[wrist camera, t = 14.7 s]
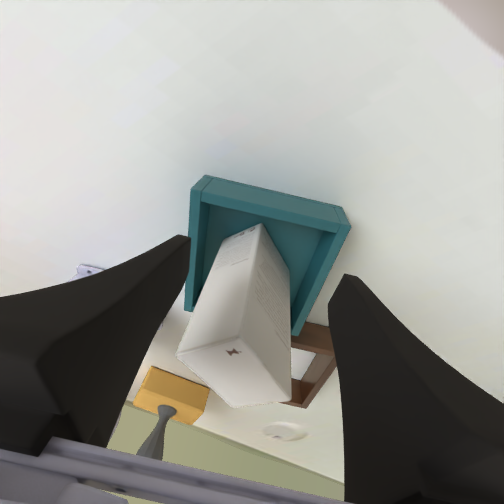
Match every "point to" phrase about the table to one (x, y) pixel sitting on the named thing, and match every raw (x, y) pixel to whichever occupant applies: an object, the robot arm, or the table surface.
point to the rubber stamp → (168, 405)
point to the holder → (320, 368)
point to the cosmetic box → (243, 323)
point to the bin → (279, 229)
